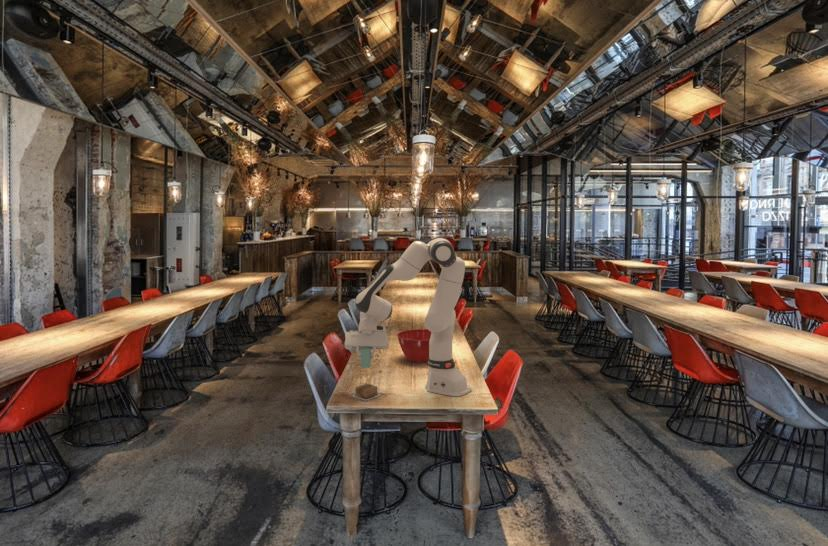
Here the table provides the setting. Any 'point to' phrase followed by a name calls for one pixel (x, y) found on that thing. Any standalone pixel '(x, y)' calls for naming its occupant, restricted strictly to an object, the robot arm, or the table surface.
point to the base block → (366, 391)
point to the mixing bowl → (415, 344)
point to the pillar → (365, 357)
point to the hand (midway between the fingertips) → (365, 356)
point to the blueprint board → (366, 399)
